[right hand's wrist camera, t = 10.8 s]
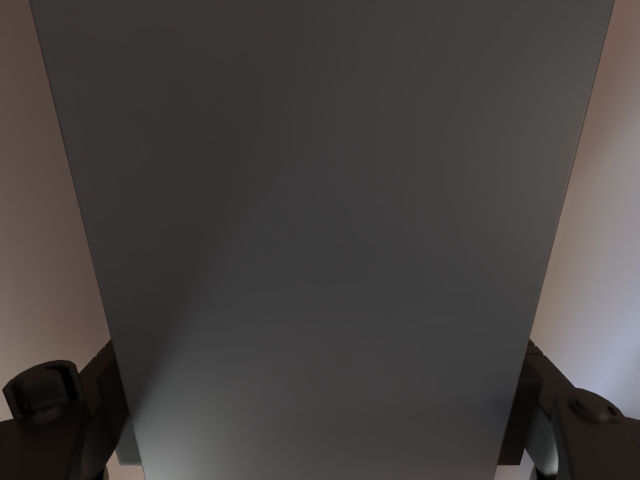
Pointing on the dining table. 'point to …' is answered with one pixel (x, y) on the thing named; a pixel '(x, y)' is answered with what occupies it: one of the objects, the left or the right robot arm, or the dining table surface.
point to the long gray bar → (320, 219)
